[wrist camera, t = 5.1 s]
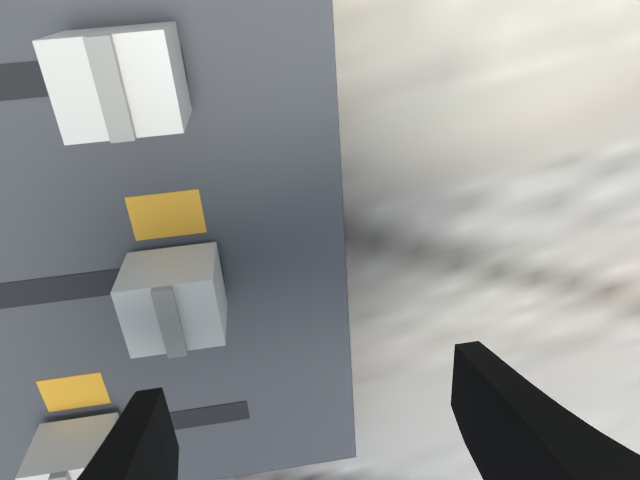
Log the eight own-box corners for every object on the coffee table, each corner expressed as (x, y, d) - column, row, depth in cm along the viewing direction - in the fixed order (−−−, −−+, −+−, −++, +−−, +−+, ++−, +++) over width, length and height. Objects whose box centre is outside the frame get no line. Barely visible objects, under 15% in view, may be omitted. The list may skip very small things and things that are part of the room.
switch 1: (192, 110, 16) (182, 135, 13) (89, 120, 15) (61, 148, 13) (175, 21, 14) (162, 30, 12) (64, 30, 14) (28, 42, 12)
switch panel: (350, 431, 25) (356, 457, 24) (-33, 492, 24) (-50, 524, 22) (318, -99, 15) (326, -106, 14) (-357, -54, 14) (-424, -57, 12)
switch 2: (227, 302, 19) (225, 350, 16) (143, 312, 19) (129, 364, 16) (216, 241, 18) (212, 284, 15) (126, 252, 17) (108, 297, 15)
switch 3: (132, 455, 22) (119, 516, 19) (58, 467, 21) (35, 529, 19) (117, 412, 20) (100, 471, 18) (39, 423, 20) (12, 485, 18)
